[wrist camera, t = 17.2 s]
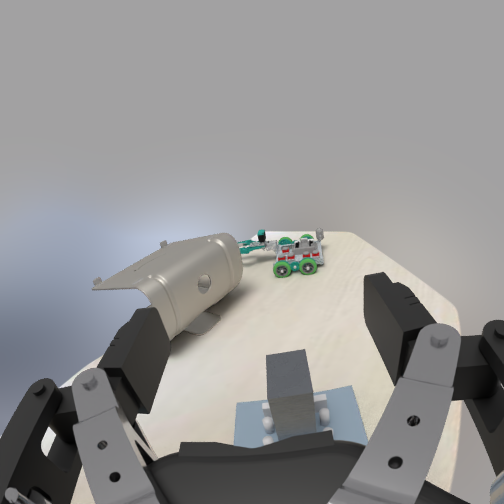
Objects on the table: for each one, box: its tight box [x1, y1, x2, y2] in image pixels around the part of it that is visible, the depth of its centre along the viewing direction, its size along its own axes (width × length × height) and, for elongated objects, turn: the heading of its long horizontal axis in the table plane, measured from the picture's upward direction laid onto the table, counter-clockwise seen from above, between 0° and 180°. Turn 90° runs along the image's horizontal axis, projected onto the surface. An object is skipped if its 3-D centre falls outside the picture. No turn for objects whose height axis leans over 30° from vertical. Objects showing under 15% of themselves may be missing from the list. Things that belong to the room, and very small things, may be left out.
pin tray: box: [234, 385, 368, 448], centre depth 31 cm, size 16×14×4 cm
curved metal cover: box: [92, 233, 243, 341], centre depth 63 cm, size 26×24×16 cm
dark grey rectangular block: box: [266, 349, 317, 441], centre depth 29 cm, size 4×6×12 cm, turn 0°
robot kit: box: [237, 228, 324, 278], centre depth 80 cm, size 19×25×9 cm
